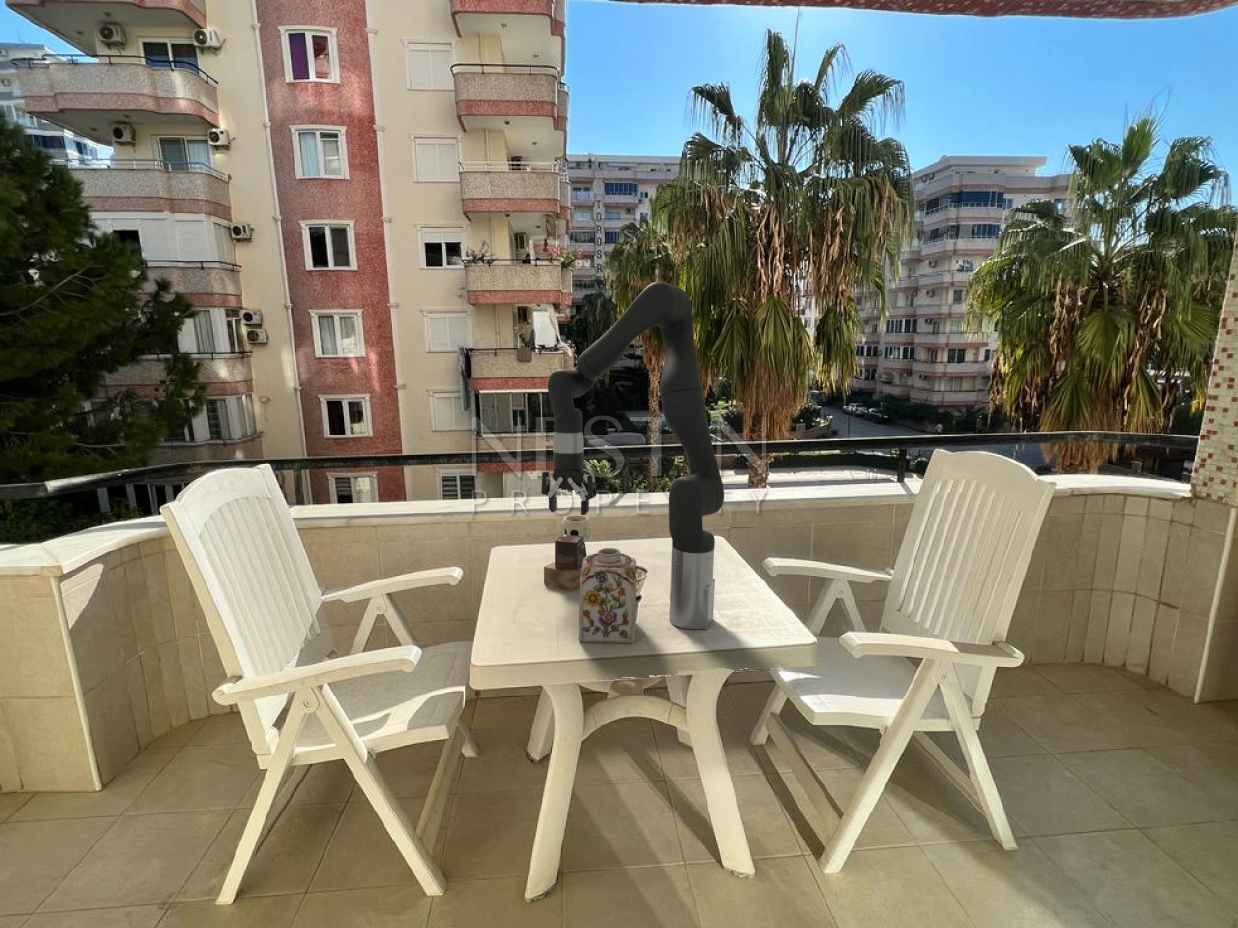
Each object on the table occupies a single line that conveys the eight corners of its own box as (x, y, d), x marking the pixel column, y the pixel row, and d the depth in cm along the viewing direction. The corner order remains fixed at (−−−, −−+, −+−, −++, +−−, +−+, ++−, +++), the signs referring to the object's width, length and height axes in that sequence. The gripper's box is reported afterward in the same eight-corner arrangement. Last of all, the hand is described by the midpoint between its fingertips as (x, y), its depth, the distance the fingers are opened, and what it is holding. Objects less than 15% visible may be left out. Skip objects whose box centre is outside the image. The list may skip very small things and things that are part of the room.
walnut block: (592, 582, 156) (593, 564, 155) (571, 592, 148) (571, 573, 148) (565, 575, 161) (565, 557, 160) (544, 585, 153) (544, 566, 152)
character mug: (553, 561, 170) (553, 517, 168) (569, 555, 176) (569, 512, 174) (583, 569, 164) (583, 524, 162) (598, 562, 170) (599, 518, 168)
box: (577, 570, 150) (577, 542, 149) (554, 568, 151) (554, 540, 150) (583, 562, 156) (584, 535, 155) (562, 560, 157) (562, 534, 156)
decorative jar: (635, 644, 121) (637, 560, 118) (578, 643, 121) (578, 559, 118) (634, 619, 133) (636, 542, 130) (582, 618, 133) (583, 541, 130)
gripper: (600, 449, 149) (600, 512, 152) (550, 446, 154) (550, 507, 157) (588, 453, 143) (588, 519, 145) (536, 450, 148) (536, 513, 150)
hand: (568, 512), depth 151 cm, fingers open, 8 cm apart
